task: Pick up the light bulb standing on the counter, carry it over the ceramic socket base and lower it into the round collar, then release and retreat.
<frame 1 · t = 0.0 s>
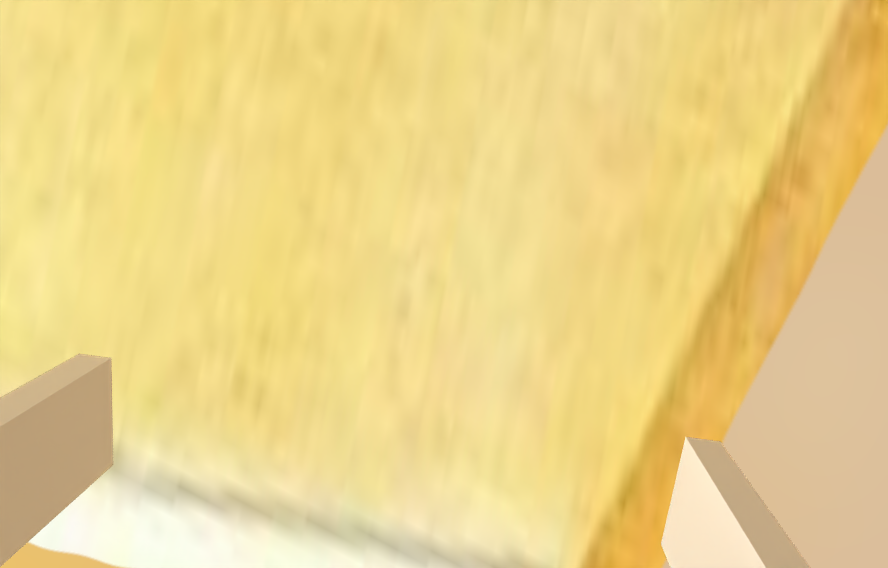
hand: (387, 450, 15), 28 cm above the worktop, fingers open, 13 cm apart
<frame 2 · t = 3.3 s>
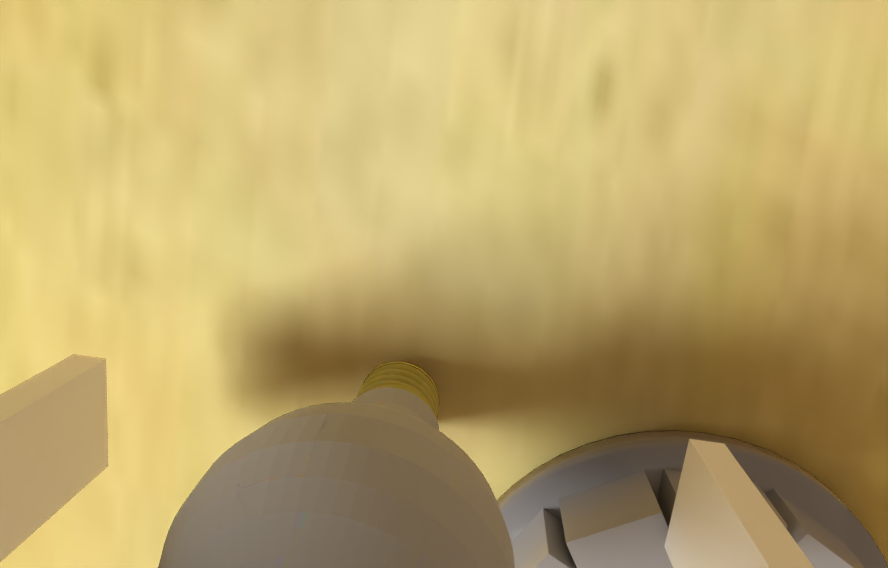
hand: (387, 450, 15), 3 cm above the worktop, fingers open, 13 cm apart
light bulb: (404, 387, 17), on the worktop
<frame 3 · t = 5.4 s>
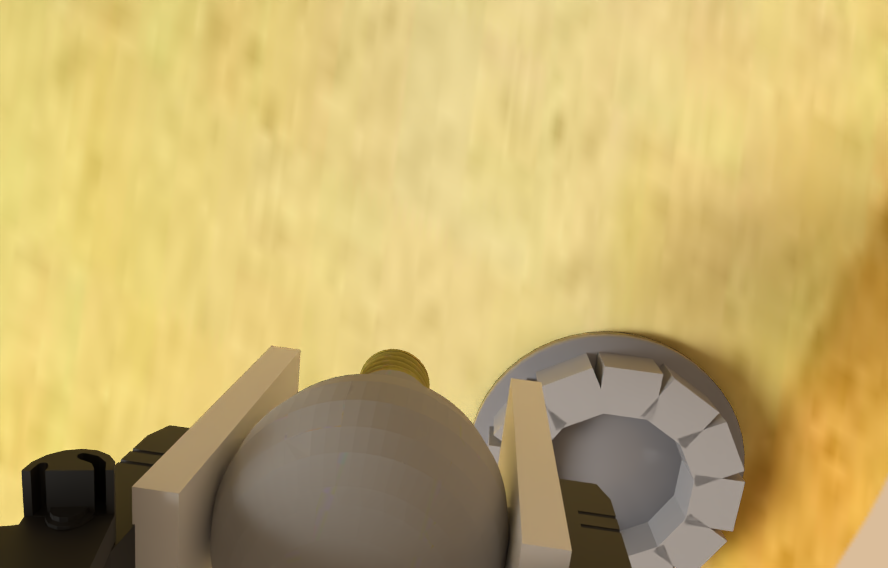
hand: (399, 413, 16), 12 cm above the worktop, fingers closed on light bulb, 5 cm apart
light bulb: (397, 374, 19), point 9 cm above the worktop, touching gripper
socket: (601, 457, 29), on the worktop
when the fingers open (4 cm above the worktop, at t = 9.0 s): light bulb stays where it is, resting on socket.
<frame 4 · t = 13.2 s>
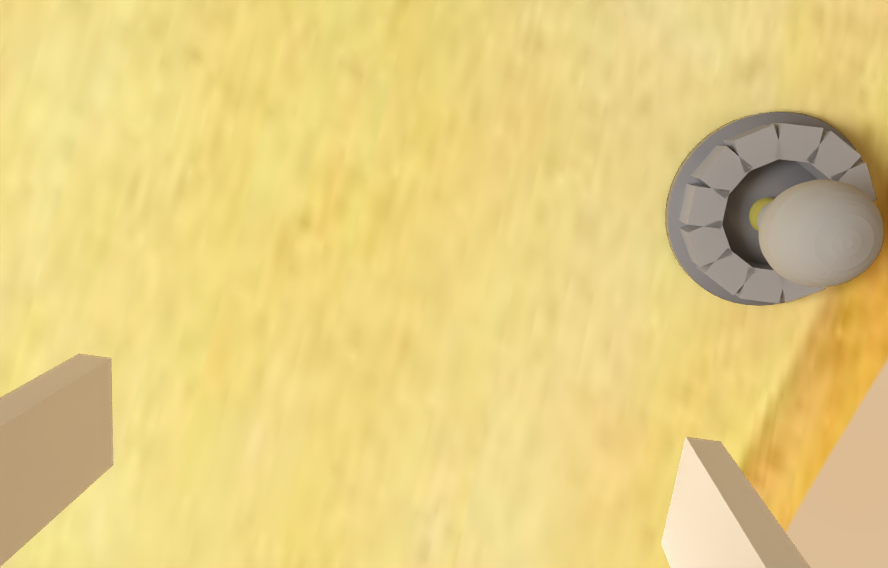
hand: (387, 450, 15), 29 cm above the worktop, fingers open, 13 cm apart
light bulb: (760, 213, 40), point 1 cm above the worktop, touching socket
socket: (762, 210, 40), on the worktop
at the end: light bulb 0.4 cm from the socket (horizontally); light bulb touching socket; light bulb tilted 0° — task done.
